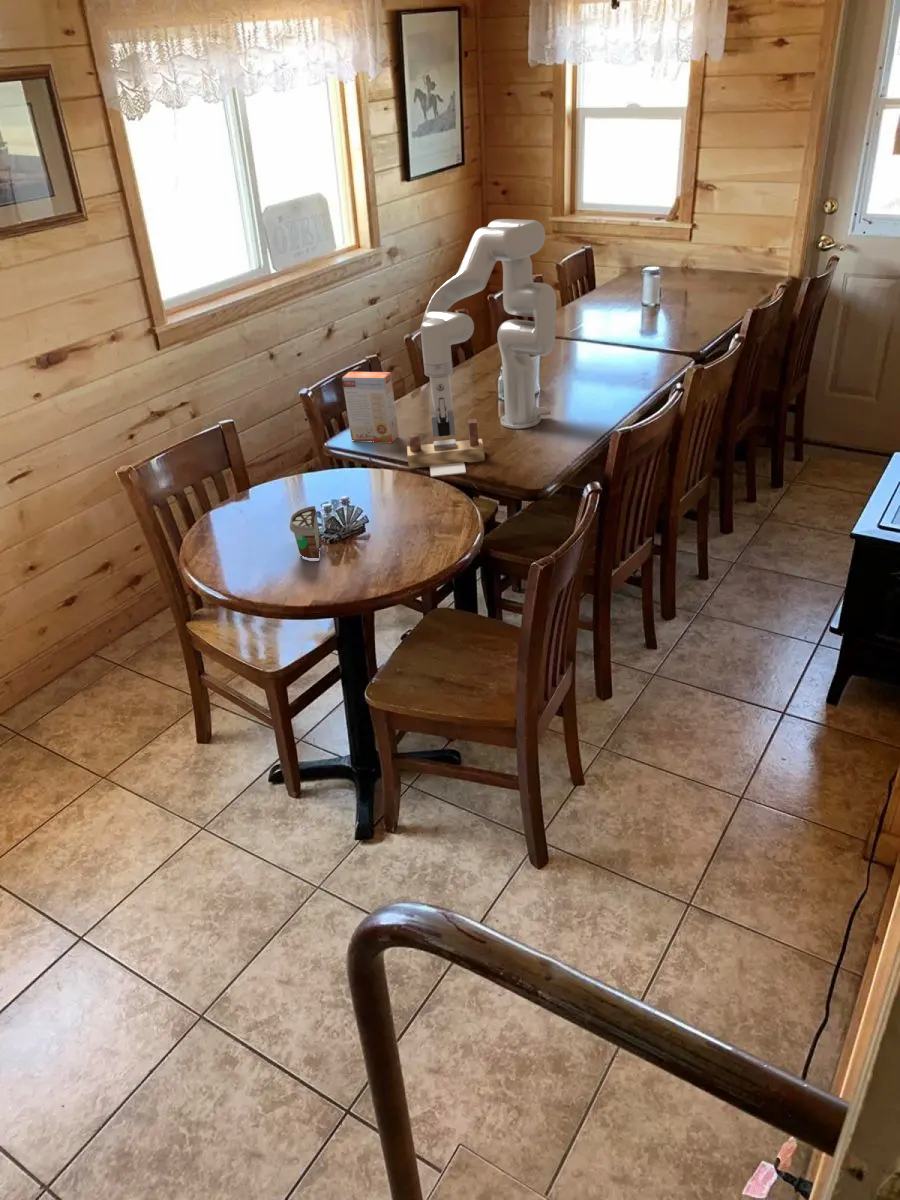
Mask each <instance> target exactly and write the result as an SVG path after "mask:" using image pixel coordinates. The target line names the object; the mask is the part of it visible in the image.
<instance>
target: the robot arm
mask: <svg viewBox="0 0 900 1200" xmlns="http://www.w3.org/2000/svg"><path fill="white" fill-rule="evenodd" d="M545 241H546V230H545V227H544V226H543V224H542V223H541V222H540V221H539V220H535V219H515V218H514V219H513V218H499V219H494V220H492V221H490V222H489V223H488V225H487V226H482V227H479V228H478V229H476V230H475V232H474V233H473V234H472V237H471V238H470V242H469V244H468V246H467V248H466V251H465V253H464V256H463V259H462V260H461V263H460V265H459V268H458V271H457V272H456V274H455V275H453V276H452V277H450V278H449V279H448V280H446V281H445V283H443V284H442V285H441V286H440V287H439V288H437V290H436V291H435V292H434V293H433V295H432V296H431V298H430V300H429V302H428V304H427V306H426V309H425V311H424V313H423V318H422V323H421V324H420V327H419V328H420V329H419V330H420V339H421V351H422V359H423V369H424V371H423V372H424V375H425V376H426V377H429V384H430V392H431V400H432V405H433V409H434V412H436V413H437V414H438V422H437V424H438V435H439V436H438V437H448V436H451V435H450V427H449V421H448V413H447V412H448V411H450V412H451V411H452V410H453V399H452V389H451V388H452V387H451V380H450V375H451V374H453V360H452V358H453V357H452V348H451V346H452V345H457V344H460V343H461V344H462V343H464V342H467V341H468V340H469V339H471V337H472V336H473V334H474V330H475V323H474V320H473V319H472V317H471V316H469V315H468V314H466V313H462V312H452V311H448V310H449V309H450V308H451V307H452V306H453V305H454V304H455V303H457V302H458V301H460V300H463V299H465V298H468V297H470V296H472V295H475V294H477V293H479V292H482V291H483V290H484V289H485V288H486V286H487V284H488V282H489V279H490V276H491V274H492V272H493V270H494V267H495V264H496V263H497V262H499V261H501V264H502V265H501V266H502V274H503V275H502V303H503V304H502V305H503V306H502V307H503V309H504V311H505V312H506V313H507V314H508V315H513V316H520V317H527V318H533V319H534V320H533V321H532V320H527V319H526V320H524V319H508V320H505V321H504V322H502V323H501V324H500V325H499V328H498V329H497V335H496V337H497V344H498V348H499V351H500V356H501V365H502V382H503V384H502V385H503V395H504V396H503V399H504V403H503V404H504V415H503V416H501V417H500V419H499V420H500V424H501V425H502V426H503V427H506V428H508V429H528V428H531V427H535V426H537V425H538V424H539V423H540V422H541V416H548V415H551V408H550V407H549V408H546V407H545V406H541V407H538V406H537V404H536V396H535V395H536V394H535V393H536V392H535V366H534V361H533V359H532V357H531V356H540V357H543V356H547V355H550V353H552V350H553V349H554V346H555V343H556V342H555V341H556V329H557V328H556V327H557V323H556V322H557V295H556V292H555V289H554V288H553V287H552V286H551V285H550V284H548V283H545V282H534V280H533V262H532V259H531V256H533V255H534V254H537V253H538V252H539V251H540V250H541V249H542V248H543V246H544V244H545ZM530 355H531V356H530ZM439 410H440V411H439ZM447 410H448V411H447ZM445 413H446V415H445ZM439 414H441V415H439Z"/></svg>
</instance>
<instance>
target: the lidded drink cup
mask: <svg viewBox="0 0 900 1200" xmlns="http://www.w3.org/2000/svg"><path fill="white" fill-rule="evenodd" d="M317 515H318V514H317V509H316V506H315V505H312V506H307V507H304V508H301V509H299V510H297V511H296V512H294V513H293V514H292V515H291V517H290V520H289V529H290V531H291V532H292V533H294V537H295V541H296V544H297V549H298V551H299V555H300V554H301V555H302V556H304V557H307V558H319V548H320V538H321V535H320V528H319V521H318V516H317ZM319 536H320V537H319Z"/></svg>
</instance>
